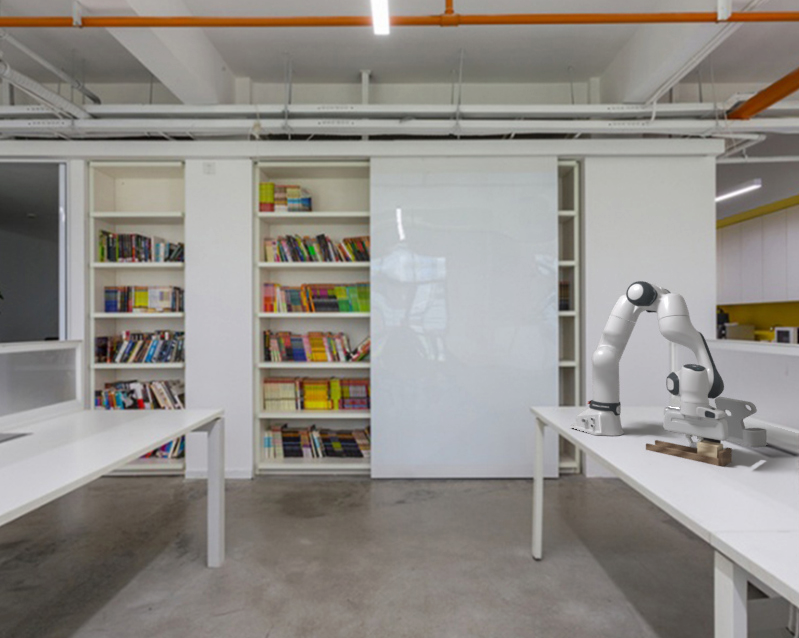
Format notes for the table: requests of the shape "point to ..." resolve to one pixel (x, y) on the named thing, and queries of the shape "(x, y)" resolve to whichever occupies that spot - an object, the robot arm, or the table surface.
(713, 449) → the maple block
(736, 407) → the phone holder
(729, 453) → the walnut chute
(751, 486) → the table surface
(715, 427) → the robot arm
